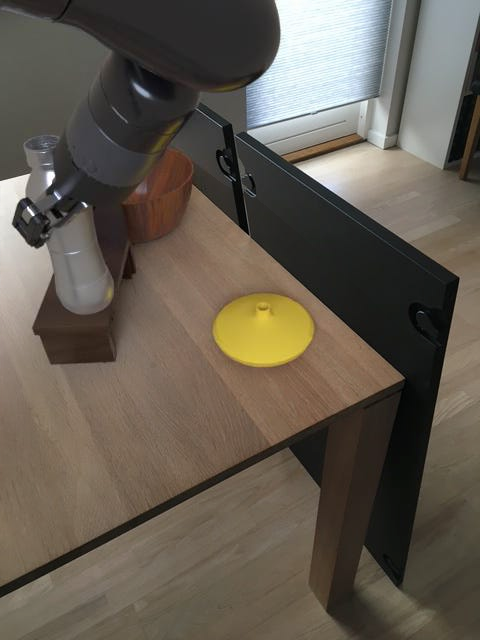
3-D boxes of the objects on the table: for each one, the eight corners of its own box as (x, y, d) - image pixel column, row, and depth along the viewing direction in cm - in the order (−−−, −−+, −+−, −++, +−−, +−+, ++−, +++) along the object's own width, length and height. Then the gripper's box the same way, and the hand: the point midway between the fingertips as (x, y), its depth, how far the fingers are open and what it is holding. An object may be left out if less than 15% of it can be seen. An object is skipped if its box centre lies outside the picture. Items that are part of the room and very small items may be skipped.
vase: (235, 390, 78) (232, 356, 73) (200, 323, 89) (196, 290, 84) (331, 358, 82) (335, 324, 77) (287, 298, 93) (287, 265, 88)
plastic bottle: (89, 281, 68) (44, 124, 54) (129, 298, 65) (92, 136, 52) (50, 310, 64) (-9, 148, 50) (91, 329, 61) (40, 163, 48)
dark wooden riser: (117, 362, 83) (92, 268, 71) (47, 366, 83) (9, 272, 71) (136, 270, 101) (118, 182, 89) (78, 272, 101) (52, 185, 89)
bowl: (218, 235, 109) (214, 183, 101) (97, 271, 101) (83, 218, 93) (174, 183, 126) (167, 136, 118) (67, 211, 118) (53, 162, 110)
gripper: (143, 80, 49) (85, 171, 62) (10, 136, 40) (-24, 228, 53) (194, 149, 50) (126, 224, 63) (75, 218, 41) (25, 288, 55)
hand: (57, 225), depth 58 cm, fingers closed on plastic bottle, 6 cm apart
